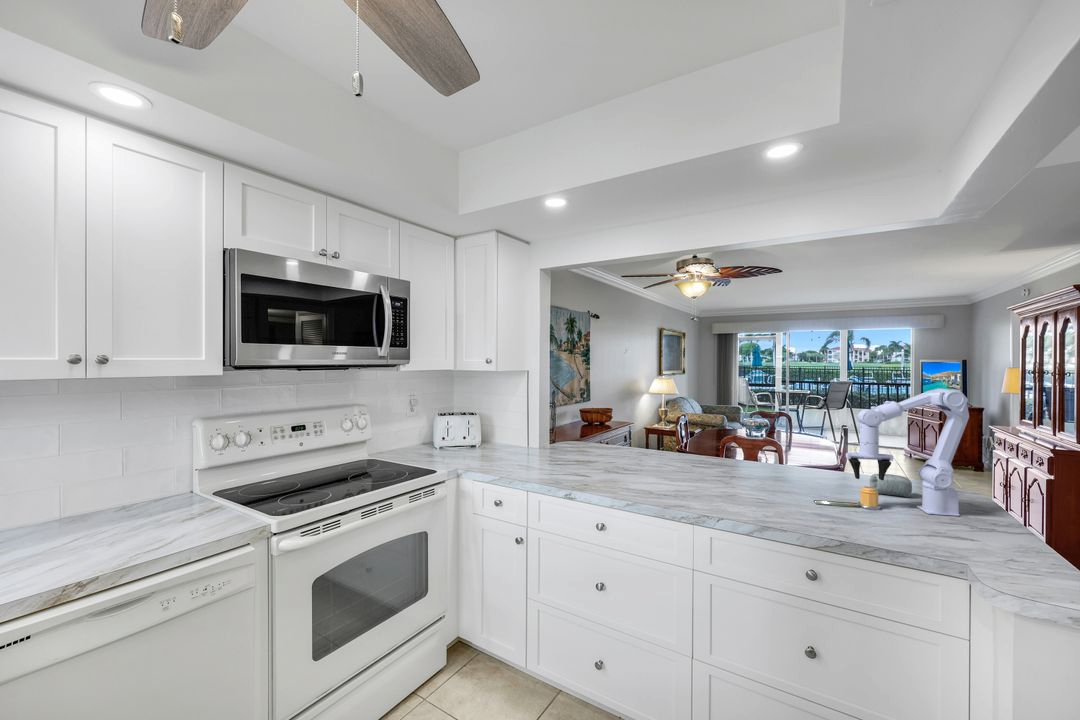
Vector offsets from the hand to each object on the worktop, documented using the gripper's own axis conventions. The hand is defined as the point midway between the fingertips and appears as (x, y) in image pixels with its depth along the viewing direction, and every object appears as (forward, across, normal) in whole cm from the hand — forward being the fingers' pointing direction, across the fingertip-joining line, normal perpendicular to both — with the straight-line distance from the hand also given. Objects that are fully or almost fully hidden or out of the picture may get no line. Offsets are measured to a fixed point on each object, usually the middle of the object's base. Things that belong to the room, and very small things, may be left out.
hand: (869, 479), depth 170 cm
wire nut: (+9, 0, 0) cm, 9 cm away
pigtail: (+10, +7, 0) cm, 13 cm away
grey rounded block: (+11, -14, -19) cm, 26 cm away
